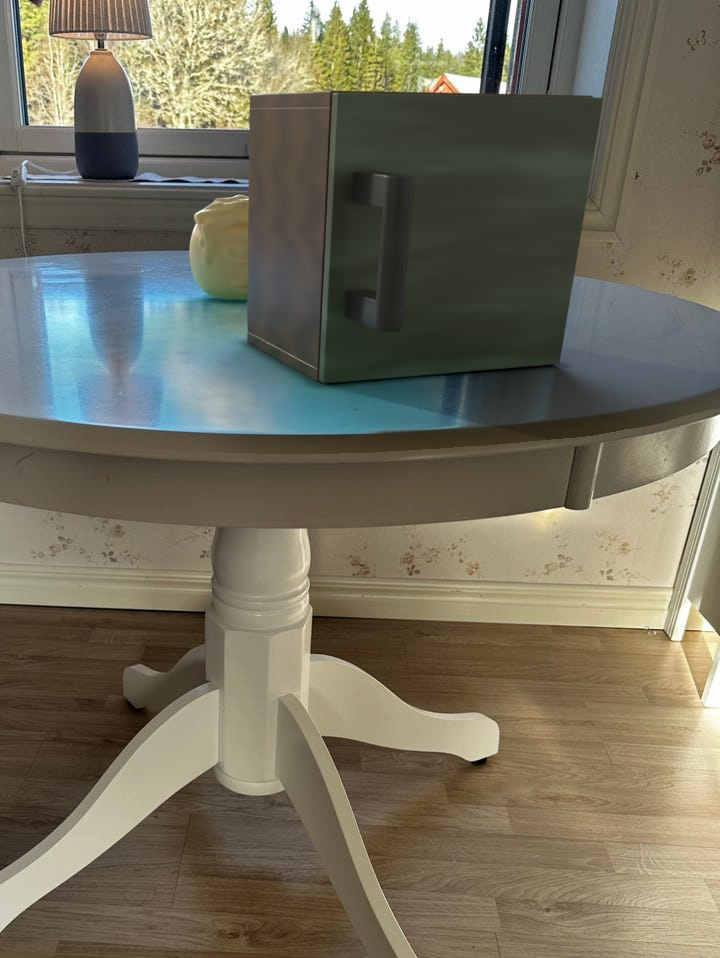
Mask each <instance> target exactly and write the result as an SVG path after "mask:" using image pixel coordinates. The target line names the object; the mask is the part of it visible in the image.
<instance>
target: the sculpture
mask: <svg viewBox="0 0 720 958" xmlns="http://www.w3.org/2000/svg"><path fill="white" fill-rule="evenodd" d="M248 201H249V196H246V195H243V194H238V195H235V196H233V197H217V198H215V199H214V201H213V202H211V204H210V205H208V206H206V207H204V208H203V209H201V210H199V211H197V212H196V213H195V214H194V215H193V219H194V222H195V225H194V228H193V230H192V233H191V236H190V241H189V253H188V254H189V255H188V256H189V263H190V268H191V273H192V275H193V279H194V280H195V283H196V284H197V286H198V287H199V289H200V290H201V291H203V292H204V293H206V294H207V295H209V296H211V297H213V298H216V299H220V300H225V301H247V289H248Z"/></svg>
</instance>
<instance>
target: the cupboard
mask: <svg viewBox="0 0 720 958" xmlns="http://www.w3.org/2000/svg"><path fill="white" fill-rule="evenodd" d="M333 93H385V94H438V95H491V96H544V97H594V96H593V95H587V94H586V95H584V94H583V95H582V94H579V95H578V94H536V93H535V94H533V93H531V94H530V93H529V94H528V93H527V94H526V93H484V92H483V93H481V92H480V93H479V92H478V93H477V92H433V91H431V92H430V91H429V92H427V91H382V90H381V91H379V90H378V91H376V90H333V89H332V90H314V91H313V90H312V91H295V92H293V91H291V92H272V93H253V94H249V115H248V116H249V121H248V126H249V128H248V197H249V201H248V289H247V300H246V301H247V303H246V305H247V306H246V307H247V308H246V331H247V332H246V343H248V344H250V345H252V346H253V347H255V348H256V349H259V350H260V351H262V352H263V353H266V354H267V355H269V356H271V357H273V358H274V359H276V360H279V361H280V362H281V363H283V364H285V365H287V366H289V367H290V368H292V369H294V370H295V371H297V372H298V373H301V374H303V375H304V376H307V377H308V378H310V379H312V380H314V381H315V382H318V383H319V382H320V381H319V365H320V344H321V323H322V302H323V281H324V260H325V239H326V218H327V197H328V176H329V155H330V134H331V113H332V94H333Z"/></svg>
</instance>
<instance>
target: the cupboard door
mask: <svg viewBox="0 0 720 958" xmlns="http://www.w3.org/2000/svg"><path fill="white" fill-rule="evenodd" d="M603 105H604V97H594V96H593V97H544V96H491V95H438V94H385V93H333V94H332V113H331V134H330V155H329V176H328V197H327V218H326V239H325V260H324V281H323V302H322V323H321V344H320V365H319V382H321V383H322V384H332V383H334V384H335V383H345V382H346V383H347V382H357V381H368V380H369V381H371V380H382V379H393V378H394V379H395V378H406V377H417V376H430V375H431V376H432V375H442V374H453V373H467V372H479V371H491V370H504V369H513V368H514V369H515V368H526V367H527V368H528V367H537V366H539V367H541V366H550V365H559V364H560V363H561V358H562V351H563V345H564V339H565V338H564V337H565V333H566V327H567V320H568V316H569V315H568V314H569V308H570V304H571V303H570V302H571V296H572V291H573V284H574V279H575V274H576V273H575V272H576V267H577V262H578V255H579V250H580V249H579V248H580V243H581V236H582V232H583V231H582V230H583V226H584V220H585V219H584V218H585V212H586V206H587V202H588V194H589V189H590V183H591V177H592V170H593V164H594V158H595V153H596V147H597V141H598V134H599V128H600V122H601V116H602V110H603Z"/></svg>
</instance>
